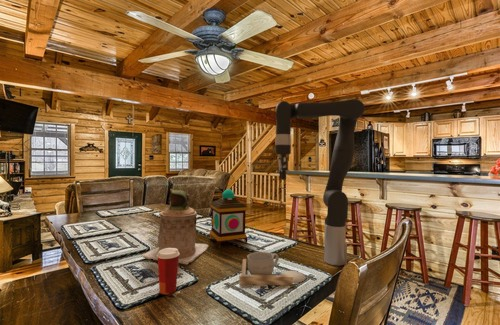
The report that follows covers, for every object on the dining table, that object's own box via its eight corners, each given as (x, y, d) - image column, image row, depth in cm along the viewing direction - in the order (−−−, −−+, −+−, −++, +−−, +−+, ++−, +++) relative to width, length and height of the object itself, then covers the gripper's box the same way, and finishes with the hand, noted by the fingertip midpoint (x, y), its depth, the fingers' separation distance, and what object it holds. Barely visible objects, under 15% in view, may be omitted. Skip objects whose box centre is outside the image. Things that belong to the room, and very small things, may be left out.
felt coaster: (302, 271, 106) (302, 270, 106) (307, 283, 96) (307, 282, 96) (278, 271, 106) (278, 270, 106) (281, 282, 96) (281, 281, 96)
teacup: (252, 283, 96) (252, 261, 96) (243, 271, 106) (244, 252, 106) (285, 278, 100) (285, 258, 100) (274, 267, 110) (274, 248, 110)
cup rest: (286, 266, 111) (286, 259, 111) (292, 285, 94) (292, 277, 94) (241, 265, 111) (241, 258, 111) (239, 284, 94) (239, 276, 94)
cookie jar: (190, 265, 111) (190, 192, 111) (139, 260, 116) (140, 190, 116) (210, 247, 135) (210, 187, 135) (167, 243, 140) (168, 185, 140)
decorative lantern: (206, 238, 150) (206, 187, 150) (237, 234, 158) (237, 186, 158) (216, 249, 132) (217, 191, 132) (250, 244, 140) (251, 190, 140)
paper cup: (181, 285, 93) (181, 247, 93) (176, 296, 85) (176, 254, 85) (160, 285, 93) (160, 247, 93) (152, 296, 85) (153, 254, 85)
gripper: (293, 143, 114) (292, 180, 114) (288, 145, 128) (288, 178, 128) (276, 143, 114) (276, 180, 114) (273, 145, 128) (273, 178, 128)
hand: (282, 179), depth 121 cm, fingers open, 6 cm apart
